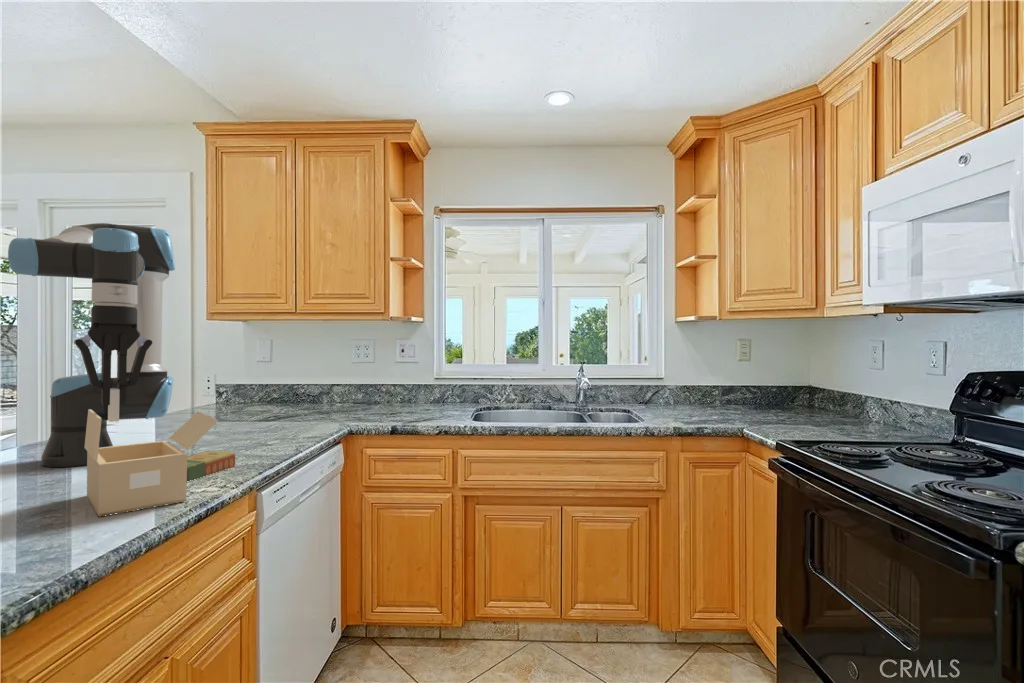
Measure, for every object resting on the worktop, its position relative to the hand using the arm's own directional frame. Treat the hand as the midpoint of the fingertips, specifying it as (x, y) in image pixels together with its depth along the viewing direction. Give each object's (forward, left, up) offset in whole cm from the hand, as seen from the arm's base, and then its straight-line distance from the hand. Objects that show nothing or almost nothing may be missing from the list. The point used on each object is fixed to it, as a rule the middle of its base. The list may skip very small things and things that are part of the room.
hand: (113, 420), depth 108 cm
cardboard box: (0, +4, -17) cm, 17 cm away
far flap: (0, +14, -3) cm, 15 cm away
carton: (-15, +19, -18) cm, 30 cm away
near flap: (0, -3, -2) cm, 4 cm away
